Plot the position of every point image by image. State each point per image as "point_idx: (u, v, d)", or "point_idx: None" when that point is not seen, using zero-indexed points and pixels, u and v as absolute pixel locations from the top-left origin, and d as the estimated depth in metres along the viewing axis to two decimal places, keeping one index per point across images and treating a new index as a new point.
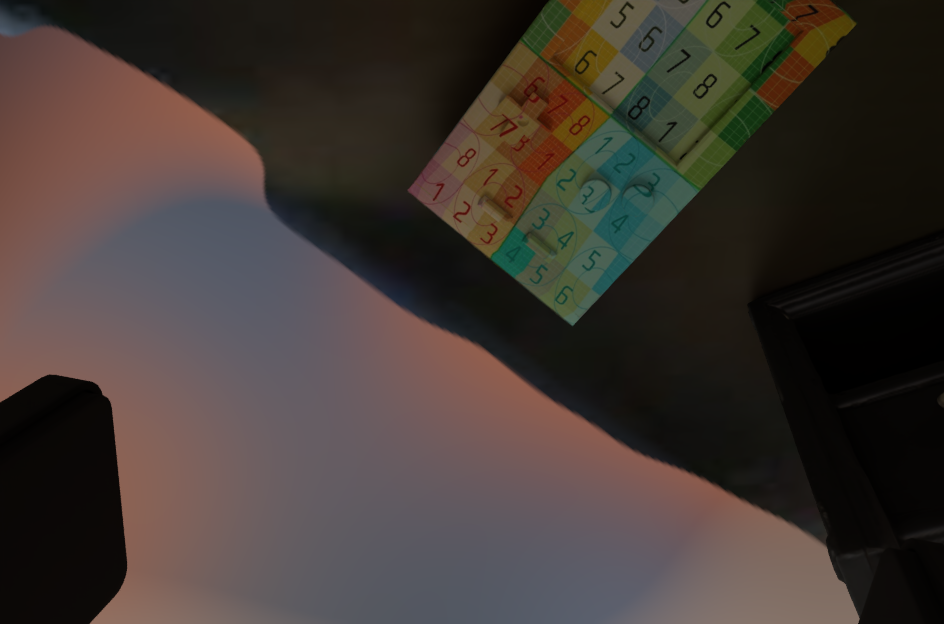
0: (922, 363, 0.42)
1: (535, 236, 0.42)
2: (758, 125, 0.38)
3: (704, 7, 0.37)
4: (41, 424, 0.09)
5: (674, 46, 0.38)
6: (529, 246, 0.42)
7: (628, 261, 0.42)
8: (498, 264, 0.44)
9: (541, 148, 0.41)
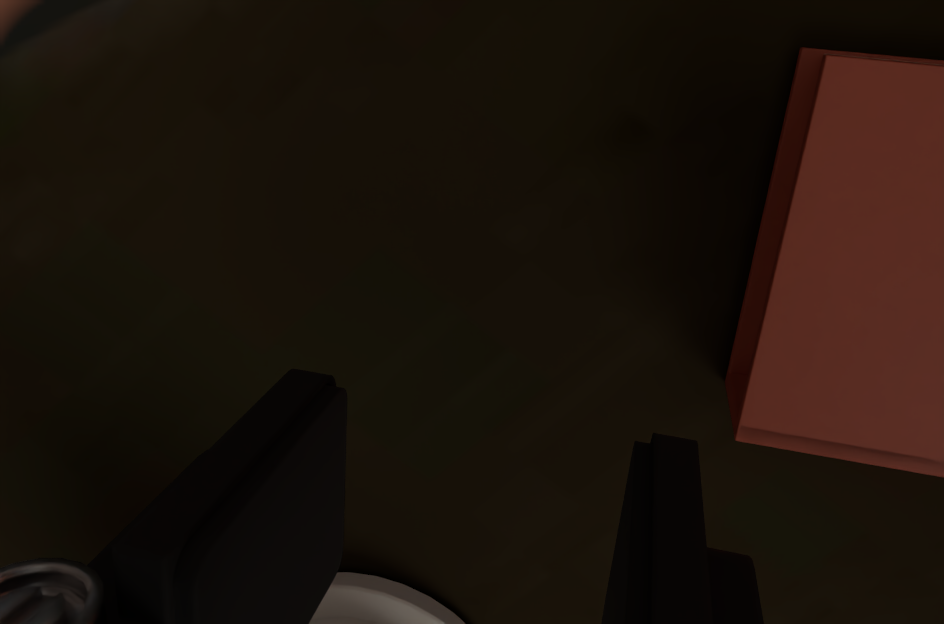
0: None
1: None
2: None
3: None
4: (307, 414, 0.09)
5: None
6: None
7: None
8: None
9: None
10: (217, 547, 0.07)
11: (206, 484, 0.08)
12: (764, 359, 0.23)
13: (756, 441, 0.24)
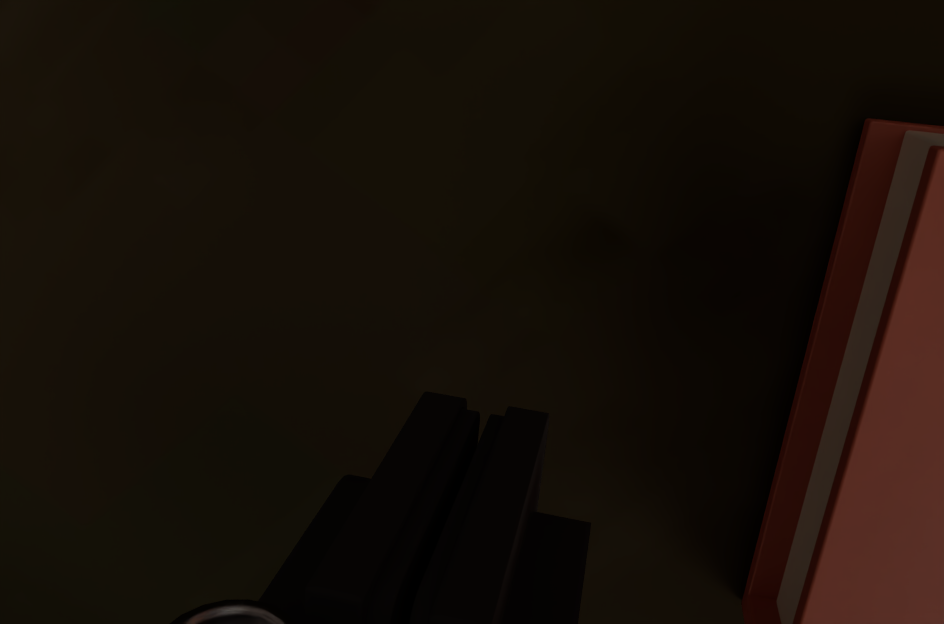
0: None
1: None
2: None
3: None
4: (453, 441, 0.09)
5: None
6: None
7: None
8: None
9: None
10: (402, 586, 0.07)
11: (380, 519, 0.08)
12: None
13: None
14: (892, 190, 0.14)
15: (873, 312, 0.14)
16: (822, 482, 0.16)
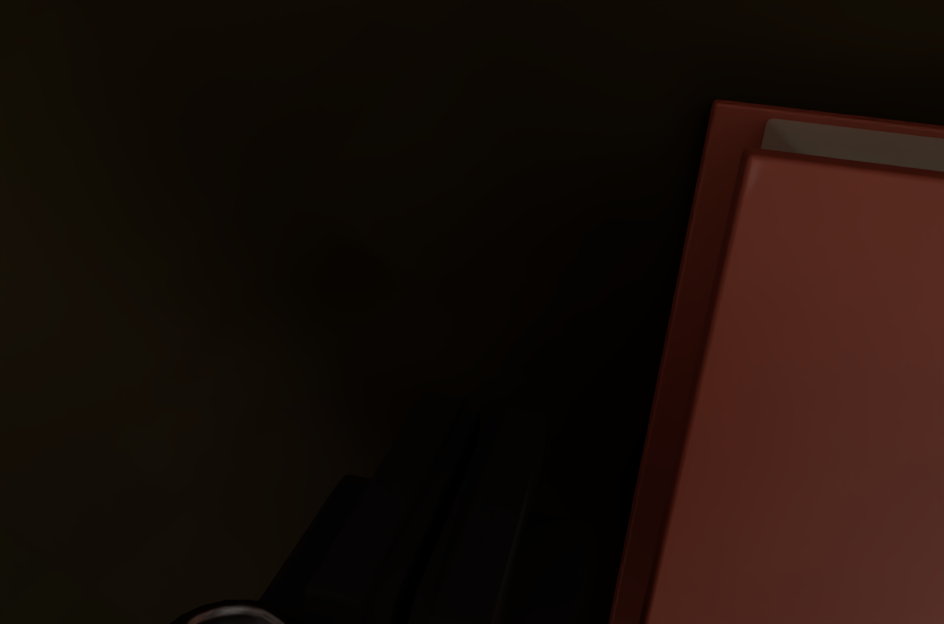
0: None
1: None
2: None
3: None
4: (453, 441, 0.09)
5: None
6: None
7: None
8: None
9: None
10: (403, 586, 0.07)
11: (380, 519, 0.08)
12: None
13: None
14: None
15: None
16: None
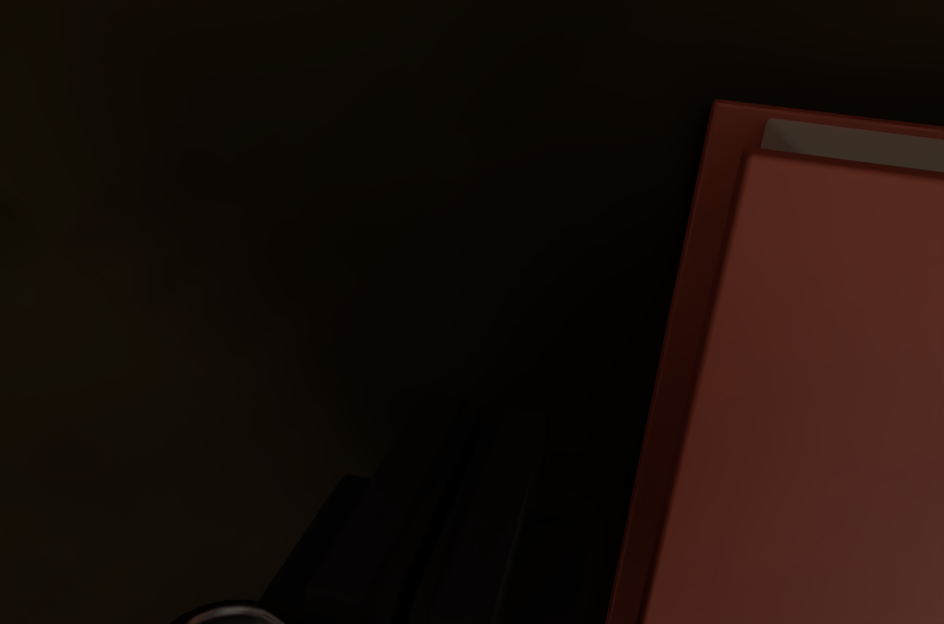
0: None
1: None
2: None
3: None
4: (453, 441, 0.09)
5: None
6: None
7: None
8: None
9: None
10: (402, 586, 0.07)
11: (380, 519, 0.08)
12: None
13: None
14: None
15: None
16: None
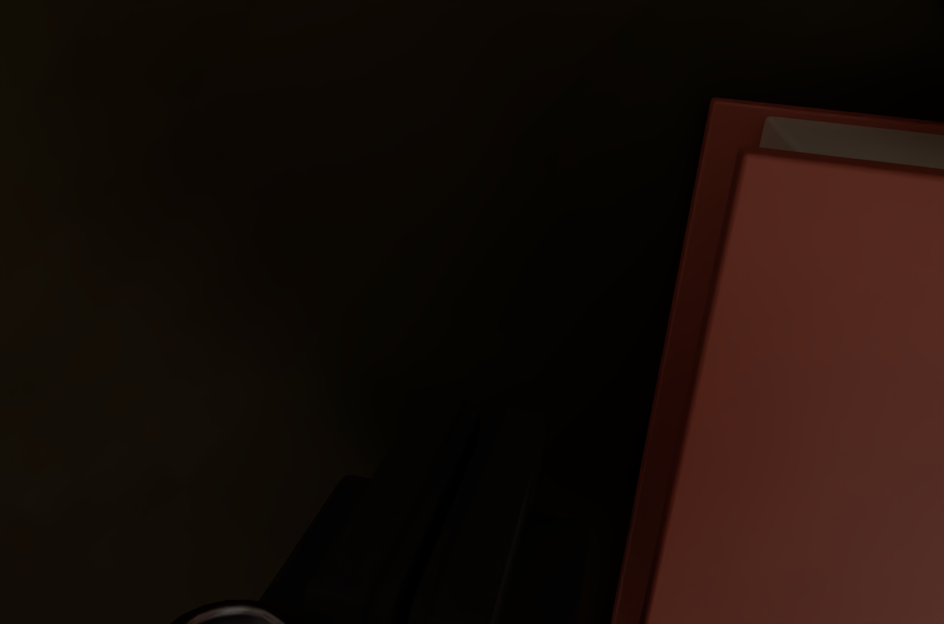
0: None
1: None
2: None
3: None
4: (453, 441, 0.09)
5: None
6: None
7: None
8: None
9: None
10: (403, 586, 0.07)
11: (380, 519, 0.08)
12: None
13: None
14: None
15: None
16: None
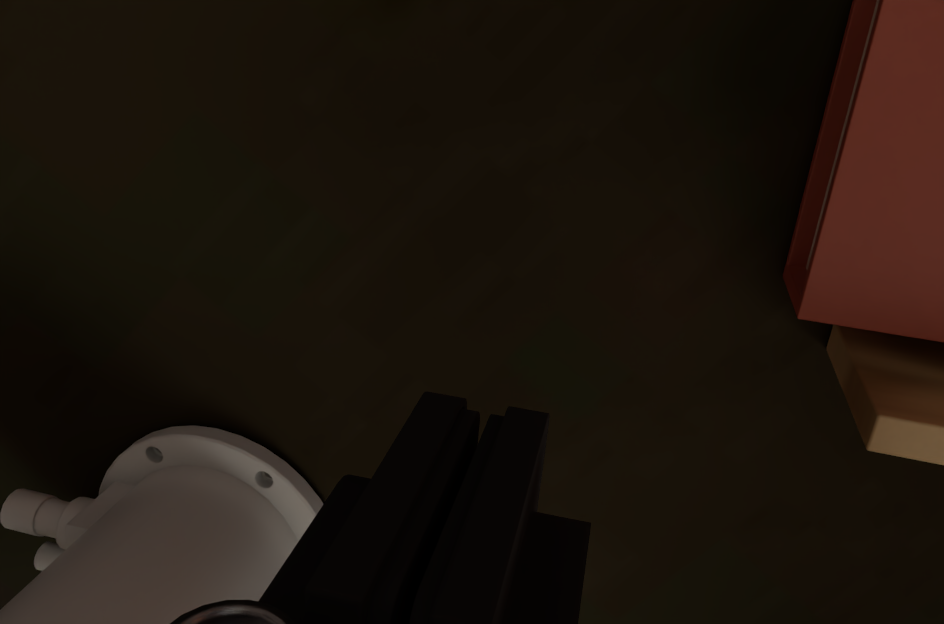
0: None
1: None
2: None
3: None
4: (453, 441, 0.09)
5: None
6: None
7: None
8: None
9: None
10: (402, 586, 0.07)
11: (379, 519, 0.08)
12: (829, 236, 0.24)
13: (818, 319, 0.25)
14: None
15: None
16: None
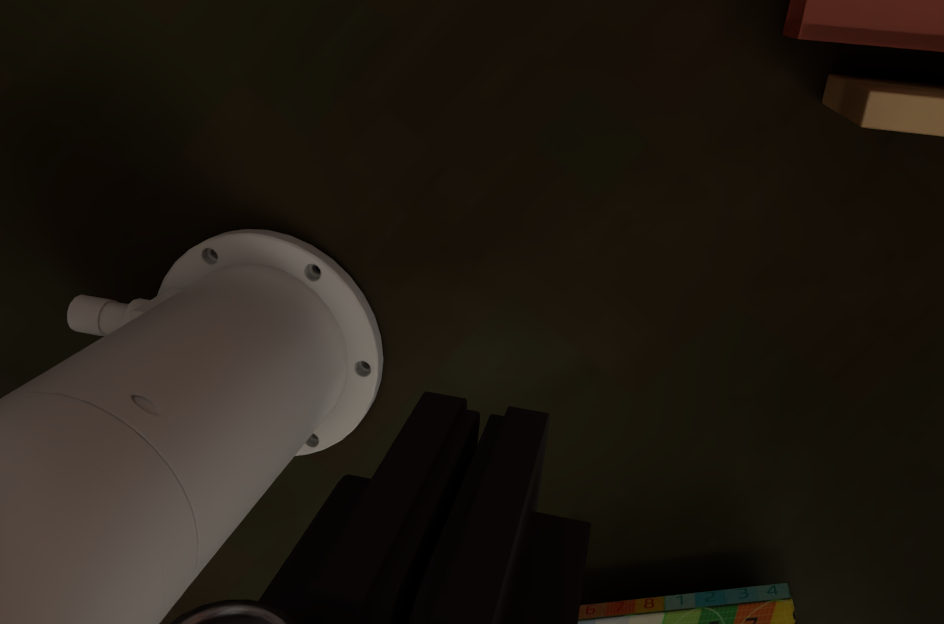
0: None
1: None
2: None
3: None
4: (453, 440, 0.09)
5: None
6: None
7: None
8: None
9: None
10: (402, 586, 0.07)
11: (380, 519, 0.08)
12: None
13: (816, 37, 0.28)
14: None
15: None
16: None
